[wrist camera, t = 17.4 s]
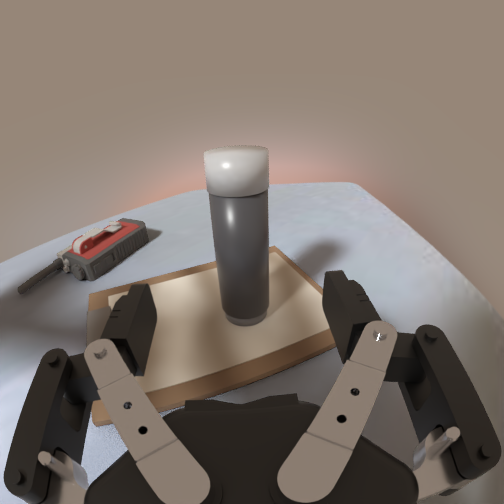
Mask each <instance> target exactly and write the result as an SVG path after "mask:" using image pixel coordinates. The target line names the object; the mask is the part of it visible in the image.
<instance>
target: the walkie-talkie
mask: <svg viewBox="0 0 504 504" xmlns="http://www.w3.org/2000/svg"><path fill="white" fill-rule="evenodd" d="M109 224H111V225H109V226H107V227H106V228H104V229H99V228H93V229H92V230H90V231H88V232H87V233H85V235H82V236H80V237H78V238H77V239H75V240H74V241H73V244H72V245H71V246H69V247H68V248H66V249H64V250H63V251H60V252H59V253H57V256H58V259H56V260H55V261H53V263H52V264H51V265H49V266H48V267H46V268H45V269H43V270H42V271H40V272H39V273H37V274H36V275H35V276H33V277H32V278H30V279H29V280H27V281H26V282H25V283H23V284H22V285H21V286H19V287H18V292H19V293H20V294H23V293H24V292H26V291H27V290H28V289H30V288H31V287H33V286H34V285H35V284H37V283H38V282H39V281H41V280H42V279H44V278H45V277H46V276H48V275H49V274H51V273H52V272H54V271H55V270H58V269H60V268H61V267H64V268H63V270H64V272H65V273H67V272H71V273H73V274H74V276H75V277H76V278H77V279H78V280H82V279H87V280H89V281H94V280H96V279H97V278H98V277H100V276H101V275H103V274H104V273H105V272H107V271H108V270H109V269H111V268H112V267H113V266H115V265H116V264H118V263H119V262H120V261H122V259H124V258H125V257H127V256H128V255H130V254H131V253H133V252H134V251H136V250H137V249H138V248H139V247H141V246H143V245H144V244H146V243H147V242H148V236H147V231H146V226H145V223H144V222H143V221H138V220H132V219H125V218H122V219H120V220H118V221H116V222H114V221H110V222H109Z"/></svg>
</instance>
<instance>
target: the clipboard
mask: <svg viewBox="0 0 504 504" xmlns="http://www.w3.org/2000/svg"><path fill="white" fill-rule="evenodd" d="M145 283H148V284H149V286H150V289H151V293H152V296H153V300H154V303H155V307H156V310H157V324H156V328H155V332H154V335H153V340H152V344H151V348H150V352H149V356H148V360H147V365H146V369H145V374H144V376H135V379H136V380H137V382H138V383H139V385H140V387H141V388H142V390H143V391H144V393H145V394H146V396H147V397H148V399H149V400H150V402H151V403H152V404H153V406H154V407H155V409H156V410H157V412H158V413H159V412H163V411H167V410H170V409H174V408H177V407H181V406H184V405H185V400H204V399H207V398H210V397H213V396H216V395H219V394H222V393H225V392H228V391H230V390H233V389H236V388H239V387H242V386H244V385H247V384H250V383H252V382H255V381H258V380H260V379H263V378H265V377H268V376H270V375H273V374H275V373H278V372H280V371H283V370H285V369H287V368H290V367H292V366H295V365H297V364H299V363H301V362H304V361H306V360H308V359H310V358H313V357H315V356H317V355H319V354H321V353H324V352H326V351H328V350H330V349H332V348H334V347H336V344H335V341H334V338H333V335H332V333H331V330H330V327H329V325H328V322H327V319H326V317H325V314H324V311H323V307H322V295H323V289H322V288H321V287H320V286H319V285H318V284H317V283H315V282H314V281H313V280H312V279H311V278H310V277H309V276H308V275H307V274H306V273H304V272H303V271H302V270H301V269H300V268H299V267H298V266H297V265H296V264H294V263H293V262H292V261H291V260H290V259H289V258H288V257H287V256H285V255H284V254H283V253H282V252H281V251H280V250H279V249H278V248H276V247H275V246H272V247H269V307H268V309H267V315H266V317H265V319H264V320H263V321H262V322H260V323H258V324H256V325H253V326H237V325H234V324H232V323H231V322H229V321H228V320H227V318H226V316H225V312H224V311H223V309H222V304H221V296H220V289H219V281H218V273H217V264H216V261H214V262H210V263H207V264H203V265H199V266H195V267H191V268H188V269H184V270H180V271H176V272H172V273H168V274H165V275H161V276H157V277H153V278H149V279H145V280H142V281H138V282H134V283H130V284H126V285H122V286H119V287H115V288H111V289H107V290H103V291H100V292H96V293H92V294H89V309H88V312H87V346H88V345H89V344H90V343H92V342H93V341H96V340H98V339H100V337H101V335H102V332H103V330H104V328H105V325H106V323H107V320H108V318H109V316H110V314H111V312H112V309H113V307H114V305H115V302H116V301H117V300H118V299H119V298H120V297H121V296H122V295H127V294H128V292H129V289H130V287H131V285H132V284H145ZM91 411H92V421H93V423H94V425H95V426H96V427H97V426H102V425H108V424H112V423H113V422H112V420H111V418H110V416H109V414H108V412H107V410H106V408H105V406H104V404H103V402H102V400H97V401H93V404H92V409H91Z"/></svg>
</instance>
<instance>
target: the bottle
mask: <svg viewBox="0 0 504 504" xmlns="http://www.w3.org/2000/svg"><path fill="white" fill-rule="evenodd" d="M268 161H269V160H268V149H267V148H265V147H260V146H228V147H221V148H216V149H212V150H209V151H206V152H205V153H204V163H205V174H206V185H207V191H208V192H209V200H210V210H211V220H212V229H213V238H214V247H215V256H216V264H217V273H218V281H219V289H220V296H221V304H222V309H223V311H224V312H225V316H226V318H227V320H228V321H229V322H231V323H232V324H234V325H237V326H253V325H256V324H258V323H260V322H262V321H263V320H264V319H265V317H266V315H267V309H268V307H269V229H268V188H269V162H268Z"/></svg>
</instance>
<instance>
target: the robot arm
mask: <svg viewBox="0 0 504 504" xmlns="http://www.w3.org/2000/svg"><path fill="white" fill-rule="evenodd" d="M322 307H323V311H324V314H325V317H326V319H327V322H328V325H329V327H330V330H331V333H332V335H333V338H334V341H335V344H336V346H337V349H338V352H339V355H340V357H341V360H342V363H343V364H345V365H344V367H343V369H342V370H341V372H340V374H339V376H338V378H337V380H336V382H335V384H334V385H333V387H332V389H331V391H330V393H329V394H328V396H327V398H326V400H325V401H324V403H323V405H322V407H320V406H318V405H315V404H312V403H309V402H304V401H298V397H297V393H295V394H287V395H278V396H269V397H266V398H262V399H259V400H256V401H252V402H249V403H245V404H233V403H227V402H221V401H216V400H185V408H181V409H178V410H175V411H173V412H171V413H169V414H167V415H165V416H164V417H161V416H160V414H159V413H158V412H157V410H156V409H155V407H154V406H153V404H152V403H151V402H150V400H149V399H148V397H147V396H146V394H145V393H144V391H143V390H142V388H141V387H140V385H139V383H138V382H137V380H136V379H135V376H144V374H145V369H146V365H147V360H148V356H149V352H150V348H151V344H152V340H153V335H154V332H155V328H156V324H157V310H156V307H155V303H154V300H153V296H152V293H151V289H150V286H149V284H148V283H145V284H132V285H131V287H130V289H129V292H128V294H127V295H122V296H121V297H120V298H119V299H118V300H117V301H116V302H115V305H114V307H113V309H112V312H111V314H110V316H109V318H108V320H107V323H106V325H105V328H104V330H103V332H102V335H101V337H100V339H98V340H96V341H93V342H92V343H90V344H89V345H88V346H87V348H86V349H85V352H84V353H82V354H78V355H73V356H68V355H67V353H66V352H65V351H64V350H63V349H59V348H57V349H52V350H50V351H48V352H47V353H46V354H45V355H44V356H43V357H42V359H41V362H40V364H39V366H38V369H37V371H36V374H35V376H34V379H33V381H32V384H31V386H30V389H29V391H28V394H27V397H26V400H25V402H24V405H23V408H22V411H21V414H20V417H19V420H18V423H17V426H16V430H15V433H14V436H13V440H12V443H11V447H10V451H9V454H8V458H7V462H6V467H5V471H4V483H5V485H6V487H7V489H8V490H9V491H10V492H11V493H12V494H13V495H15V496H17V497H19V498H21V499H22V500H24V501H25V502H27V503H28V504H417V502H419V501H422V500H425V499H427V498H430V497H432V496H435V495H437V494H439V495H442V496H447V495H450V494H452V493H454V492H456V491H458V490H459V489H461V488H463V487H464V486H466V485H467V484H469V483H471V482H472V481H474V480H475V479H477V478H478V477H480V476H481V475H483V474H484V473H486V472H487V471H488V470H490V469H491V468H493V467H494V466H495V465H496V464H497V463H498V461H499V459H500V456H501V445H500V442H499V440H498V438H497V435H496V433H495V431H494V428H493V426H492V424H491V421H490V419H489V417H488V415H487V413H486V411H485V408H484V406H483V404H482V402H481V400H480V398H479V396H478V394H477V392H476V390H475V388H474V386H473V384H472V382H471V380H470V378H469V377H468V375H467V373H466V371H465V369H464V367H463V365H462V364H461V362H460V360H459V358H458V357H457V355H456V353H455V351H454V350H453V348H452V346H451V344H450V343H449V341H448V339H447V338H446V336H445V334H444V333H443V331H442V330H440V329H439V328H438V327H436V326H433V325H422V326H420V327H419V328H418V329H417V330H416V333H415V334H409V333H399V332H397V331H396V329H395V328H394V327H393V326H392V325H391V324H389V323H387V322H384V321H382V320H381V319H380V317H379V315H378V313H377V312H376V310H375V308H374V306H373V305H372V303H371V301H369V298H368V296H367V295H366V293H365V291H364V289H363V287H362V286H361V285H360V284H358V283H357V282H356V281H354V280H348V279H347V277H346V275H345V274H344V272H343V271H342V270H338V271H327V272H326V273H325V278H324V287H323V295H322ZM383 381H389V382H398V384H399V387H400V389H401V392H402V395H403V397H404V400H405V403H406V405H407V408H408V411H409V414H410V417H411V420H412V422H413V425H414V428H415V431H416V434H417V437H418V440H419V445H418V446H417V447H416V449H415V451H414V454H413V461H414V466H413V470H411V469H410V468H409V467H408V466H407V465H406V464H404V463H403V462H401V461H400V460H398V459H396V458H395V457H393V456H392V455H390V454H389V453H387V452H386V451H384V450H383V449H381V448H380V447H378V446H377V445H375V444H374V443H372V442H371V441H369V440H368V439H366V438H365V437H364V436H362V435H361V433H362V430H363V428H364V426H365V424H366V422H367V419H368V417H369V415H370V412H371V410H372V408H373V405H374V403H375V400H376V398H377V395H378V393H379V390H380V388H381V385H382V382H383ZM97 400H102V402H103V404H104V406H105V408H106V410H107V412H108V414H109V416H110V418H111V420H112V422H113V424H114V425H115V427H116V429H117V431H118V433H119V435H120V436H121V438H122V440H123V442H124V443H125V445H126V447H127V448H128V450H127V451H126V452H125V453H124V454H123V455H122V456H121V457H120V458H119V459H118V460H116V461H115V462H114V463H113V464H112V465H111V466H110V467H109V468H108V469H107V470H105V471H104V472H103V473H102V474H101V475H100V476H99V477H98V478H97V479H95V480H94V481H93V482H92V483H91V484H90V486H89V484H88V479H87V473H86V471H85V469H84V468H83V467H82V466H81V461H82V455H83V449H84V443H85V438H86V433H87V428H88V423H89V418H90V413H91V409H92V404H93V401H97Z"/></svg>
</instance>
